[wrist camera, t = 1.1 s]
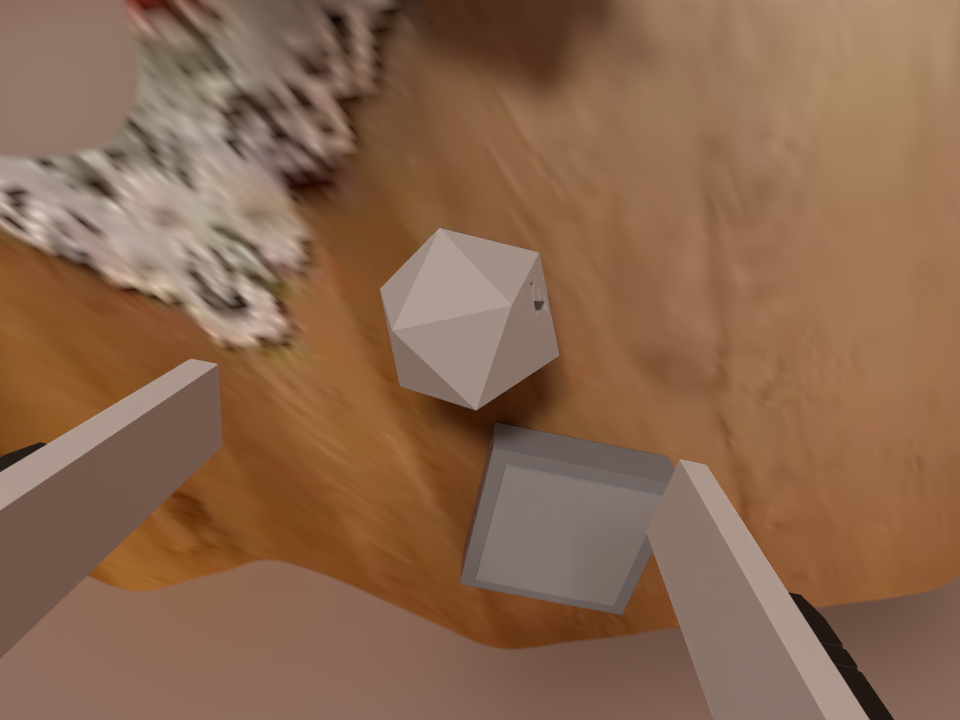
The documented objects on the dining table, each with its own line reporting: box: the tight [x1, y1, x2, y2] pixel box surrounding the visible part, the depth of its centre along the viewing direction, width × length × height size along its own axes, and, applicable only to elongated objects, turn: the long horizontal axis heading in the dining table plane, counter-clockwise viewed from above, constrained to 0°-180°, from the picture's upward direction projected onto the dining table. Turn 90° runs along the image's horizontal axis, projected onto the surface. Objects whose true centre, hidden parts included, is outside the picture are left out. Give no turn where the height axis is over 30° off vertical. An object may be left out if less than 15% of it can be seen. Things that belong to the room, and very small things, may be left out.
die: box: [380, 228, 559, 410], centre depth 23 cm, size 8×9×10 cm
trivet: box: [460, 422, 675, 615], centre depth 31 cm, size 12×12×3 cm
